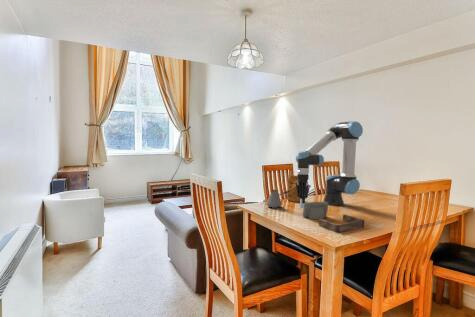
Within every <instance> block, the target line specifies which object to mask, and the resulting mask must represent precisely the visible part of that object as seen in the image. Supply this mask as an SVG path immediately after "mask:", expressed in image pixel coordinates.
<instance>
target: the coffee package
mask: <svg viewBox="0 0 475 317" xmlns="http://www.w3.org/2000/svg"><path fill="white" fill-rule="evenodd" d="M297 182H298V179H297V175H293V174H289V177H288V183H287V190H286V191H290V190H292V191H293V193H292V191H290V192H288V193H286V195H287V196H286V198H287V199H286V200H288V201H287V202H292V203H300V198H299V197H298V196H297V189H296V184H295V183H297Z"/></svg>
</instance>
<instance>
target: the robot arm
mask: <svg viewBox="0 0 475 317" xmlns="http://www.w3.org/2000/svg"><path fill="white" fill-rule="evenodd" d="M363 132H364V130H363V126H362V124H361V123H360V122H359V121H354V120H353V121H352V120H351V121H350V120H349V121H344V122H343V121H342V122H337V123H336V124H333V126H331V127H330V128H328V129H327V130H326V132H325V133H324V135H322V136H321V137H320V138H319V139H318V140H316V141H315V142H314V143H313V144H312V145H310V146H309V147H308V148H307V149H306V150H305V151H298V153H297V154H296V156H295V162H296V163H297V175H296V176H297V179H298V182H297V183H295V184H296V189H297V196H298V197H299V198H300V201H299V209H304V203H305V202H306V199H308V197H309V191H310V188H311V187H312V186H311V184H309V182H308V180H309V179H310V178H309V176H310V175H309V173H310V172H309V171H310V166H321V165H323V164H324V160H325V157H324V156H323V155H322V154H319V153H320V152H321V151H323V150H324V149H325V148H326V147H327V146H328V145H329V144H331V143H332V142H335V141H336V140H337V139H340V138H341V141H342V142H343V148H342V150H343V151H342V152H343V153H342V167H341V168H342V170H341V174H334V175H333V174H331V175H327V176H326V180H325V189H326V190H325V195H324V199H323V202H328V206H337V207H338V206H344V204H345V203H344V199H343V195H342V194H346V195H355V194H357V193H358V192H359V190H360V187H361V186H360V185H361V184H360V182H359V180H358V179H357V175H356V174H355V171H356V149H357V142H358V141H359V140H360V139H359V138H360V137H362V135H363Z"/></svg>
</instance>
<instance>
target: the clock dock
mask: <svg viewBox="0 0 475 317" xmlns="http://www.w3.org/2000/svg"><path fill="white" fill-rule="evenodd" d="M342 222H343V223H339V224H337V223H334V222H331V221H328V220H325V219H318V227H321V228H323V229H326V230H328V231H331V232H333V233H336V234H339V233H343V232H349V231H353V230H357V229H362V228H364V227H365V220H364V219H362V218H359V217H356V216H355V217H354V216H351V215H348V214H342Z"/></svg>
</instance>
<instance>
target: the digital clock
mask: <svg viewBox="0 0 475 317" xmlns="http://www.w3.org/2000/svg"><path fill="white" fill-rule="evenodd" d="M328 208H329V205H328V202H324V201H305V203H304V208H302V209H303V211H302V217H304V218H309V219H310V220H319V219H323V220H325V217H326V216H327V214H328Z"/></svg>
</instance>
